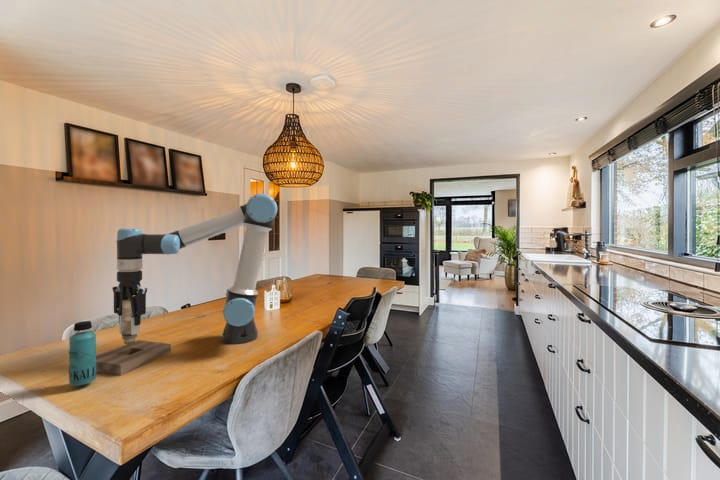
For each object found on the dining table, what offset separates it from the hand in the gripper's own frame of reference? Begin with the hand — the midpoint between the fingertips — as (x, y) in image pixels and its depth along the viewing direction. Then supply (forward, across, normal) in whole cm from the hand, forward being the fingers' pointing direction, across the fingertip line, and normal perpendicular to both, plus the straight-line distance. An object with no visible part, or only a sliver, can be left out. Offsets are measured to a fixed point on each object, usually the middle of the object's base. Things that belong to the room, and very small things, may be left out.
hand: (129, 333), depth 114 cm
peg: (+4, 0, 0) cm, 4 cm away
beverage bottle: (+11, +4, -18) cm, 21 cm away
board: (+10, 0, 0) cm, 10 cm away
